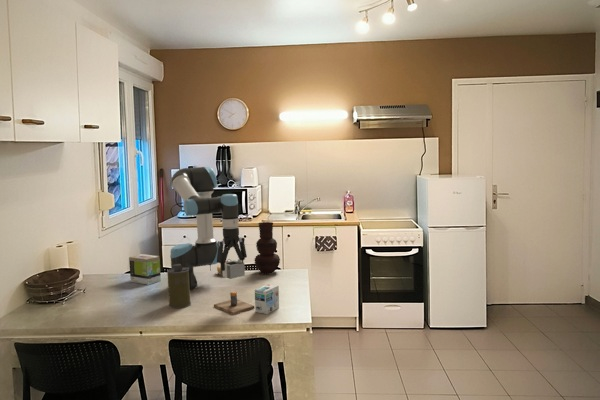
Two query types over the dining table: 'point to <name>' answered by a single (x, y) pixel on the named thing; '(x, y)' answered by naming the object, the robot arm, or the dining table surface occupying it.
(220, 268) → the pastry
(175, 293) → the canister
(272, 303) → the light bulb box
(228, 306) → the wooden base with peg
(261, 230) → the vase
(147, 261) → the tea box
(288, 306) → the dining table surface
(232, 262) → the grey hollow block
